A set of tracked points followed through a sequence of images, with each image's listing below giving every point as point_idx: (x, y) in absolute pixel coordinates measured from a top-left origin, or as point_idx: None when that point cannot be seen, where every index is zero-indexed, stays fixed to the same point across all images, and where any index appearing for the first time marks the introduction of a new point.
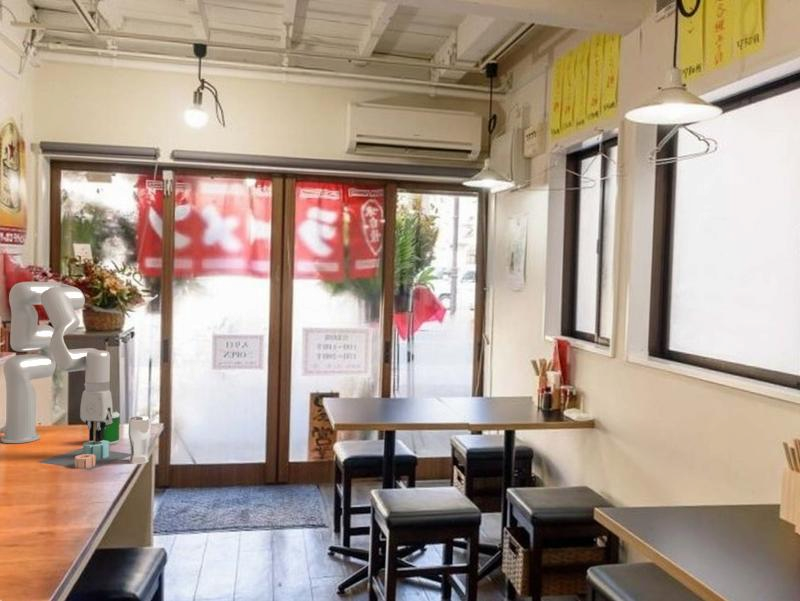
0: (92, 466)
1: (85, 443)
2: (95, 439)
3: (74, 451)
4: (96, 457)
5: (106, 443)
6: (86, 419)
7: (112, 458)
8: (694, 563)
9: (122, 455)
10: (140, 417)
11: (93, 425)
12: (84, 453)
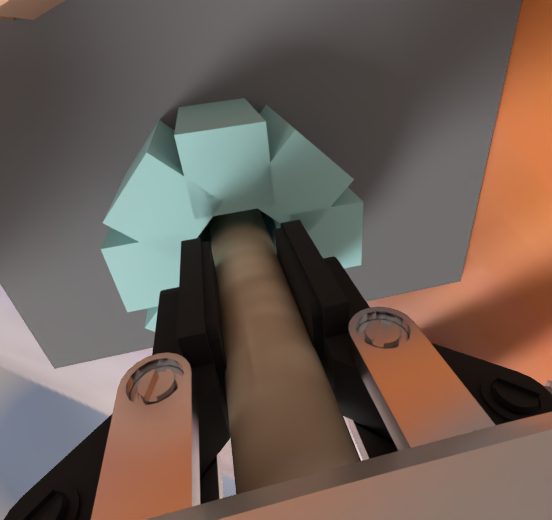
0: None
1: (327, 184)
2: (210, 250)
3: (461, 192)
4: (141, 149)
5: (148, 302)
6: (521, 447)
7: (60, 232)
8: None
9: (92, 314)
10: None
11: (325, 397)
12: (267, 118)
